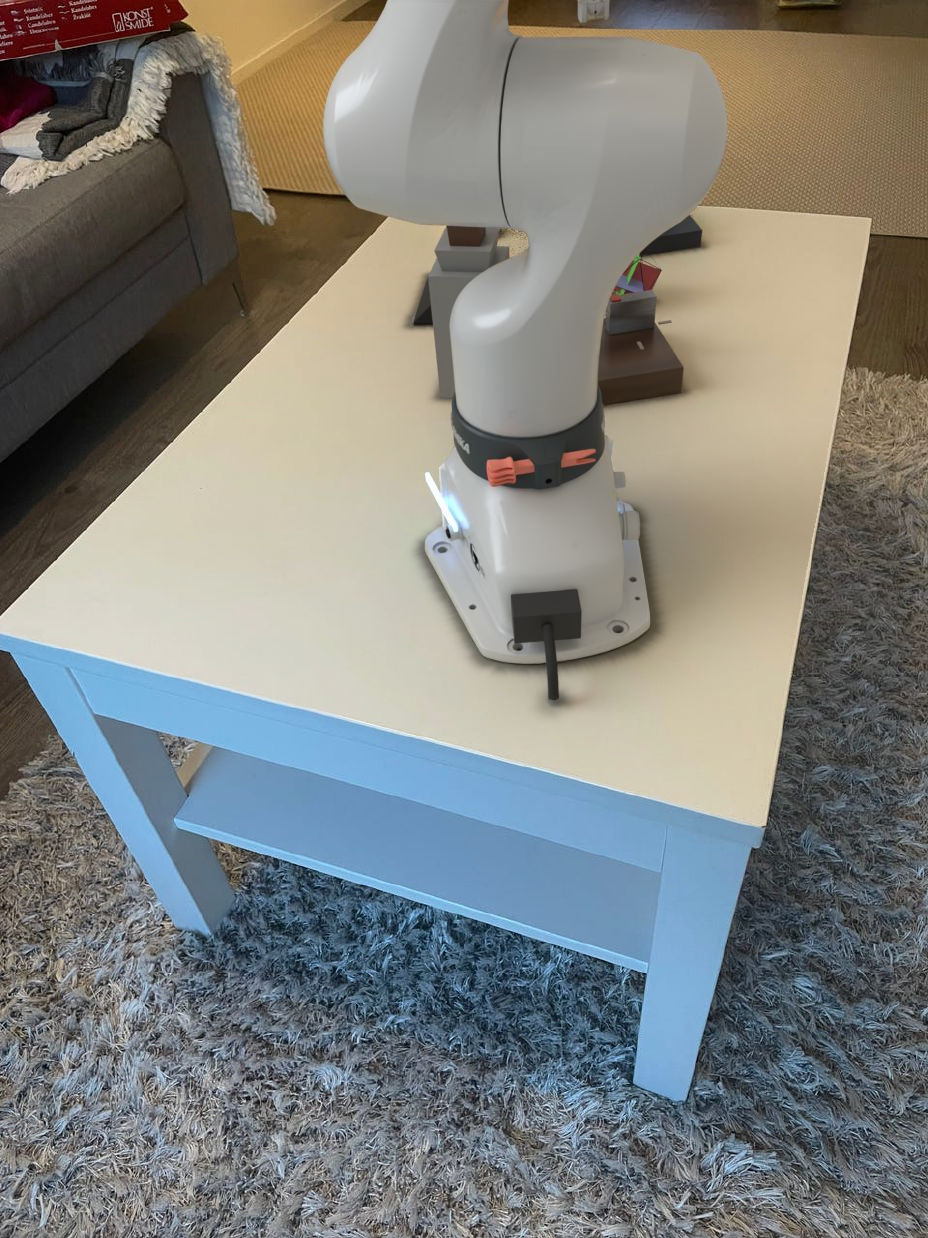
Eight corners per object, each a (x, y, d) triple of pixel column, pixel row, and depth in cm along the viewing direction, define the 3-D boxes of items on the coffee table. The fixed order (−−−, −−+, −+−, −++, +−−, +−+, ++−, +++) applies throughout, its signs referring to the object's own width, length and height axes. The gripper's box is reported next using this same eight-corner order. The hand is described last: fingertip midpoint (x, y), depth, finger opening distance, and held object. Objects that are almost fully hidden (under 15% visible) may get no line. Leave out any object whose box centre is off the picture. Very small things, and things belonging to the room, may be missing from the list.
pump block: (700, 246, 122) (704, 215, 119) (624, 258, 121) (625, 226, 118) (670, 209, 130) (672, 178, 127) (598, 219, 130) (599, 189, 127)
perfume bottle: (503, 400, 101) (494, 231, 88) (440, 397, 102) (423, 229, 89) (513, 366, 105) (507, 200, 92) (453, 363, 107) (439, 199, 94)
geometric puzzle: (671, 270, 114) (633, 217, 110) (674, 298, 109) (634, 244, 105) (621, 305, 117) (582, 255, 113) (621, 333, 113) (580, 282, 109)
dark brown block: (696, 390, 100) (699, 363, 97) (587, 407, 99) (588, 380, 96) (655, 326, 109) (657, 300, 107) (555, 342, 108) (555, 316, 106)
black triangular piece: (472, 326, 112) (469, 289, 109) (410, 326, 113) (406, 289, 110) (484, 275, 121) (481, 239, 117) (426, 276, 122) (422, 240, 118)
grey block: (649, 320, 104) (652, 287, 101) (654, 327, 103) (657, 294, 100) (605, 327, 104) (606, 294, 101) (609, 335, 103) (610, 301, 100)
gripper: (495, -130, 88) (502, 40, 98) (710, -156, 90) (695, 15, 99) (482, -140, 92) (490, 24, 102) (688, -164, 94) (676, -1, 104)
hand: (593, 19), depth 101 cm, fingers closed
